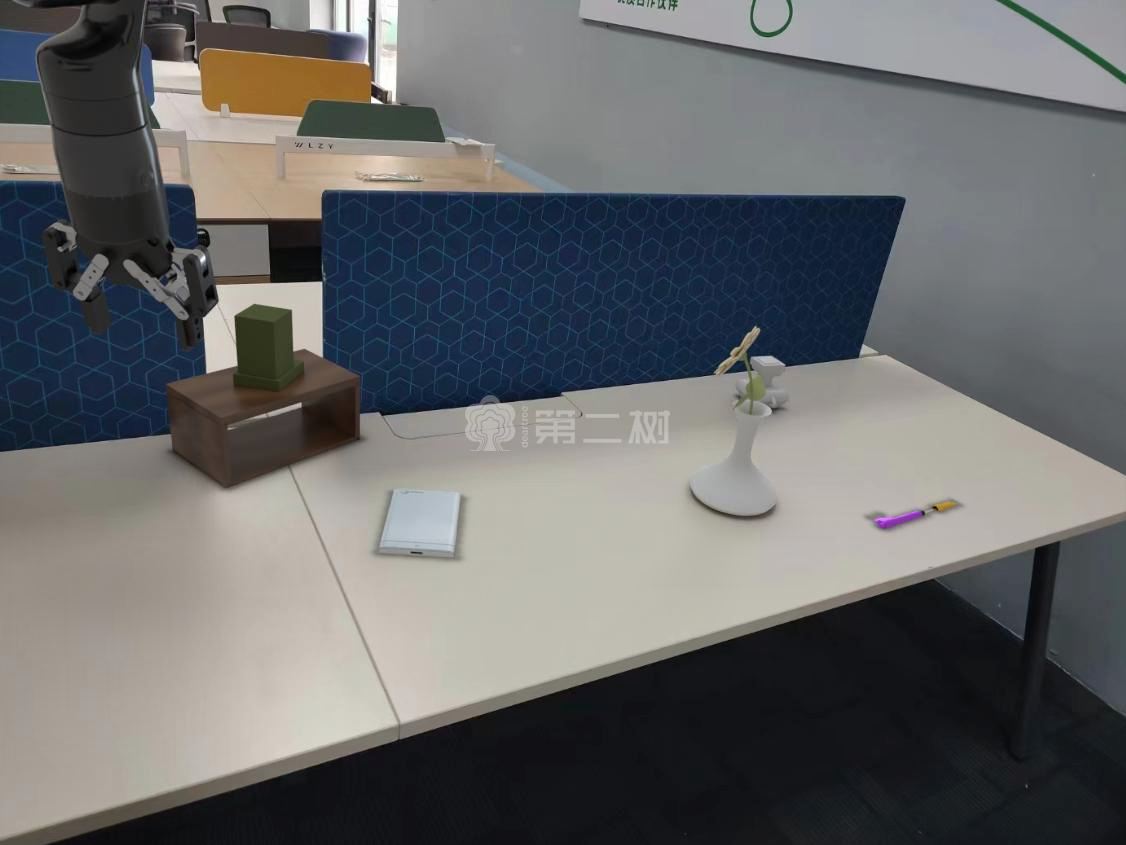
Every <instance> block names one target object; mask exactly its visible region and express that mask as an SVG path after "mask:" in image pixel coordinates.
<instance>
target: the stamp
mask: <svg viewBox="0 0 1126 845" xmlns="http://www.w3.org/2000/svg"><path fill="white" fill-rule="evenodd" d="M749 365H751V369H752V370H754V371H755V372H756V373H757V376H759V375H760V374H761V375H762V378H763V382H764V386H765V391H766V394H765V396H764V397H763V398H761V399H759V400H756V401H758V402H761V403H763V404H765V405H767V406H768V407H769V408H770V409H778V408H779V407H781V406H783V405H785V404H787V402H789V401H790V395H789V393H788V392H787V390H785V389H784V388H782V387H781V386H780V385H779V384H778V383H776V382H775V381H774V380H773V379H774V378H775V377H781V376H782V374H783V373H785V372H786V364H785V363H783V362H782V361H780V360H779V359H777V358H776V357H774V356H773V355H764V356H763V355H762V356H760V355H759V356H751V357H750V360H749ZM753 379H754V378H752V380H753ZM749 382H750V379H749V378H740V379H738V380H737V381H735V384H734V387H735V389H736V391H737V393H738V395H739V397H740V399H741V398H742V397H743V396H744V395H745V394H747V391H746V385H747V384H748V383H749ZM747 399H748V400H750V398H749V397H748V398H747Z"/></svg>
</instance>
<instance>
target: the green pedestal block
mask: <svg viewBox="0 0 1126 845" xmlns="http://www.w3.org/2000/svg"><path fill="white" fill-rule="evenodd" d="M233 318H234V319H233V320H234V332H235V333H234V334H235V348H236V350H235V351H236V364H237V365H236V366H237V367H238V370H237V371H236V372H234V373H233V383H234V385H240V386H246V387H252V388H258V389H263V390H269V391H275V392H280V391H281V390H283V389H284V388H285V387H286V386H287V385H288V384H290V383H291V382H292V381H293V380H294V379H295V378H297V377H298V376H299V375H300V374H301V373H303V372H304V361H302V360H296V359H294V356H293V351H294V332H293V330H294V328H293V326H294V325H293V309H292V308H291V309H290V308H285V307H284V308H283V307H277V306H271V305H265V304H258V303H253V304H252V305H249V306H248V307H246V308H244V309H243V310H241V311H239V312H238V313H236V314H235V315H234V316H233Z"/></svg>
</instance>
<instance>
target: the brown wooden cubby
mask: <svg viewBox="0 0 1126 845" xmlns="http://www.w3.org/2000/svg"><path fill="white" fill-rule="evenodd" d="M293 356H294V359H296V360H302V361H304V372H303V373H301V374H300V375H299V376H298V377H297V378H295V379H294V380H293V381H292V382H291V383H290V384H288V385H287V386H286V387H285V388H284V389H283V390H281V391H280V392H275V391H269V390H263V389H258V388H252V387H246V386H240V385H234V383H233V373H234V372H236V371H237V370H238V367H237V365H235V366H229V367H227V368H222V369H220V370H215V371H211V372H208V373H203V374H200V375H196V376H195V375H194V376H191V377H188V378H183V379H179V380H176V381H172V382H168V383H165V392H166V402H167V411H168V418H169V419H168V420H169V429H170V430H169V431H170V438H171V439H170V440H171V448H172V452H173V453H174V454H176V455H177V456H178V457H180V458H181V459H182V460H184V461H186V463H188V464H190V465H192V466H193V467H194V468H195V469H196V470H199V471H200V472H201V473H203V474H204V475H206V476H207V477H208V478H210V479H211V480H212V481H214V482H215V483H217V484H219V485H220V486H222V487H223V488H224V489H229V488H231V487H234V486H238V485H239V484H242V483H245V482H247V481H250V480H253V479H256V478H259V477H261V476H264V475H266V474H270V473H273V472H274V471H275V472H276V471H278V470H281V469H283V468H286V467H288V466H291V465H294V464H297V463H300V462H302V461H306V460H308V459H310V458H312V457H316V456H318V455H321V454H323V453H327V452H329V451H332V450H335V449H338V448H340V447H343V446H346V445H349V444H351V443H353V442H357V441H359V440H360V439H361V376H360V375H359V374H357V373H355V372H352V371H351V370H348V369H346V368H344V367H342V366H341V365H338V364H336V363H334V362H333V361H331V360H328V359H326V358H324V357H323V356H320V355H318V354H316V353H314V352H312V351H311V350H308V349H306V348H301V349H297V350H293ZM299 404H301V406H300V407H298V408H294V409H291V410H288V411H285V412H281V413H279V414H275V415H272V416H269V417H265V418H263V419H259V420H256V421H253V422H250V423H246V424H244V425H240V426H237V427H233V428H230V429H229V428H228V426H230V425H234V424H237V423H240V422H242V421H243V422H244V421H246V420H250V419H253V418H255V417H258V416H262V415H265V414H269V413H272V412H276V411H279V410H282V409H284V408H287V407H292V406H294V405H299Z"/></svg>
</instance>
